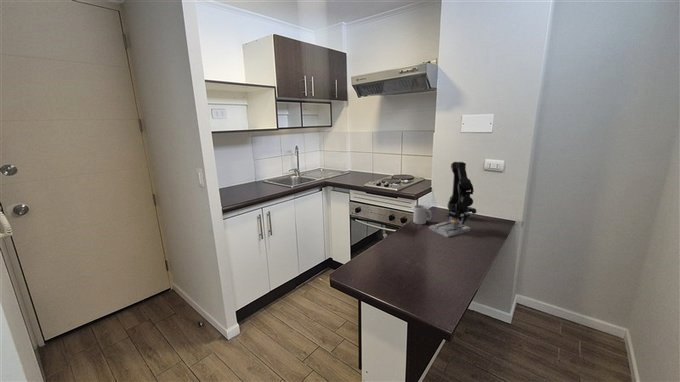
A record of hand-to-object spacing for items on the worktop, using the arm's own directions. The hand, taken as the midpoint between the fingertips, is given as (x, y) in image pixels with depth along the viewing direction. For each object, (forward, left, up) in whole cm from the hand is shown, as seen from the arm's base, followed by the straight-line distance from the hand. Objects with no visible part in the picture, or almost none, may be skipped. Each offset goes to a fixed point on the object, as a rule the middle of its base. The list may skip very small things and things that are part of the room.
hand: (461, 225), depth 175 cm
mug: (+11, -22, -3) cm, 25 cm away
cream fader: (-1, -8, -1) cm, 8 cm away
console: (+6, -4, -3) cm, 8 cm away
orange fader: (+7, 0, -1) cm, 7 cm away
